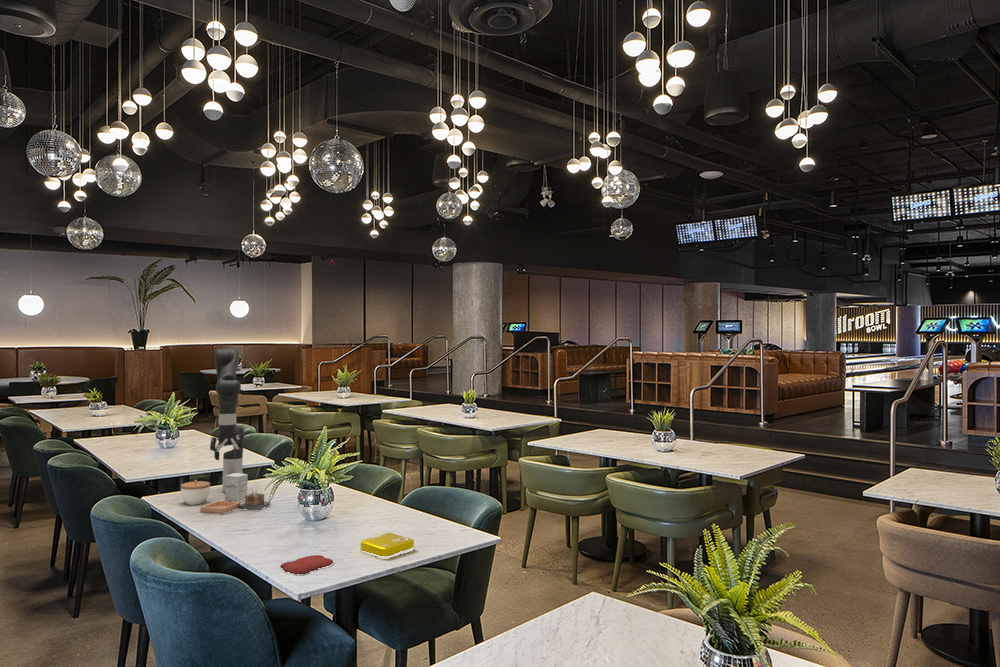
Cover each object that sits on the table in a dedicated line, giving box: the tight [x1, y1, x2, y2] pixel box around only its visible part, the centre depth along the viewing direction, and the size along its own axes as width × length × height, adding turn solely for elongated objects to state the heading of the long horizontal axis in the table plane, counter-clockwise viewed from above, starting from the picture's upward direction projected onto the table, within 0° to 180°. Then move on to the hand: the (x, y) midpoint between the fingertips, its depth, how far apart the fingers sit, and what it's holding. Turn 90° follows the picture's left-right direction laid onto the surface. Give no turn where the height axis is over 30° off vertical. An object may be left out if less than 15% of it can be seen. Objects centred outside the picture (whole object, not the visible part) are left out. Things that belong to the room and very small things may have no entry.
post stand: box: [237, 489, 271, 511], centre depth 292 cm, size 10×10×8 cm
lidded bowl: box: [180, 479, 211, 506], centre depth 300 cm, size 13×13×11 cm
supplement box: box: [224, 473, 249, 502], centre depth 306 cm, size 7×7×13 cm
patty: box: [280, 554, 334, 575], centre depth 216 cm, size 18×14×2 cm
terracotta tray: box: [199, 500, 242, 515], centre depth 287 cm, size 12×12×2 cm
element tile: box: [360, 532, 415, 556], centre depth 233 cm, size 15×15×5 cm
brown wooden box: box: [244, 492, 265, 506], centre depth 292 cm, size 6×6×4 cm
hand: (226, 458), depth 289 cm, fingers open, 8 cm apart
